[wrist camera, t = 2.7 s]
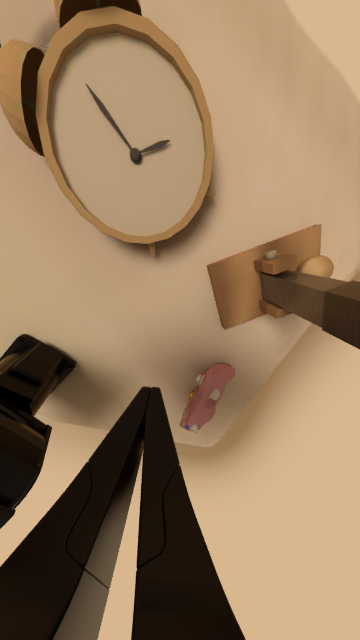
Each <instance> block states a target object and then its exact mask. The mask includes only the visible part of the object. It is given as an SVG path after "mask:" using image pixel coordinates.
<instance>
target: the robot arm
mask: <svg viewBox="0 0 360 640" xmlns="http://www.w3.org/2000/svg"><path fill="white" fill-rule="evenodd" d="M22 338H23V339H25V340H23V339H22ZM71 365H72V366H71ZM75 367H76V362H74V361H72V360H71V359H69V358H67V357H65V356H64V355H62V354H60V353H58V352H56V351H55V350H53V349H51V348H49V347H47V346H46V345H44V344H42V343H40V342H38V341H37V340H35V339H33V338H31V337H30V336H28V335H25V334H22V335H20V336H19V337H17V339H16V340H15V341H14V342H13V344H12V345H11V346H10V347H9V348H8V350H7V351H6V352H5V353H4V354H3V356H2V357H1V358H0V529H1V528H2V527H3V526H4V525H5V524H6V523H7V522H8V521H9V520H10V519H11V518H12V516H13V515H14V513H15V508H16V507H17V506H18V505H19V504H20V503H21V501H22V500H23V499H24V498H25V497H26V495H27V494H28V492H29V491H30V490H31V488H32V487H33V485H34V483H35V481H36V480H37V478H38V476H39V474H40V471H41V468H42V465H43V461H44V457H45V453H46V450H47V446H48V441H49V438H50V434H51V430H52V427H51V426H49V425H45V424H44V423H43V422H41V421H40V420H38V419H37V418H35V417H34V416H35V415H36V413H37V412H38V410H39V409H40V407H41V406H42V404H43V403H44V401H45V400H46V398H47V397H48V395H49V394H50V393H51V392H52V391H53V390H54V389H55V388H56V387H57V386H58V385H59V384H60V383H61V382H62V381H63V380H64V379H65V378H66V377H67V376H68V375H69V374H70V373H71V372H72V371H73V369H74V368H75ZM142 452H143V466H142V483H141V502H140V517H139V534H138V550H137V571H136V584H135V598H134V613H133V625H132V636H131V637H132V638H131V640H246V639H245V637H244V635H243V633H242V631H241V629H240V626H239V624H238V622H237V620H236V618H235V616H234V613H233V611H232V609H231V607H230V604H229V602H228V600H227V597H226V595H225V592H224V590H223V587H222V585H221V582H220V580H219V578H218V575H217V572H216V570H215V567H214V565H213V562H212V559H211V556H210V553H209V551H208V548H207V545H206V543H205V541H204V537H203V535H202V532H201V529H200V527H199V524H198V521H197V518H196V516H195V513H194V510H193V507H192V504H191V501H190V498H189V496H188V492H187V488H186V485H185V481H184V478H183V474H182V470H181V467H180V466H179V459H178V456H177V452H176V448H175V444H174V440H173V436H172V432H171V429H170V425H169V421H168V417H167V413H166V410H165V406H164V402H163V398H162V394H161V390H160V388H159V387H152V388H151V387H145V386H144V387H142V388H141V389H140V391H139V392H138V393H137V395H136V396H135V398H134V399H133V400H132V402H131V403H130V404H129V406H128V407H127V408H126V410H125V411H124V412H123V414H122V415H121V417H120V418H119V419H118V421H117V422H116V423H115V425H114V426H113V427H112V429H111V430H110V431H109V433H108V434H107V436H106V437H105V438H104V440H103V441H102V442H101V444H100V445H99V446H98V448H97V449H96V451H95V452H94V453H93V455H92V456H91V457H90V459H89V462H87V463H86V464H85V465H84V467H83V468H82V469H81V471H80V472H79V473H78V475H77V476H76V477H75V479H74V480H73V481H72V483H71V484H70V485H69V486H68V488H67V489H66V490H65V492H64V493H63V494H62V495H61V496H60V498H59V499H58V500H57V501H56V502H55V504H54V505H53V506H52V507H51V508H50V510H49V511H48V512H47V513H46V514H45V516H44V517H43V518H42V519H41V520H40V521H39V522H38V524H37V525H36V526H35V527H34V529H33V530H32V531H31V532H30V533H29V534H28V535H27V537H26V538H25V539H24V540H23V541H22V542H21V544H20V545H19V546H18V547H17V548H16V549H15V550H14V552H13V553H12V554H11V555H10V556H9V558H8V559H7V560H6V561H5V562H4V563H3V564H2V566H1V567H0V640H97V639H98V634H99V630H100V626H101V622H102V618H103V614H104V609H105V606H106V602H107V597H108V593H109V588H110V585H111V581H112V577H113V572H114V568H115V564H116V560H117V556H118V552H119V547H120V544H121V539H122V535H123V531H124V527H125V523H126V519H127V514H128V510H129V506H130V502H131V498H132V494H133V490H134V486H135V481H136V477H137V473H138V469H139V465H140V461H141V456H142Z"/></svg>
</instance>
